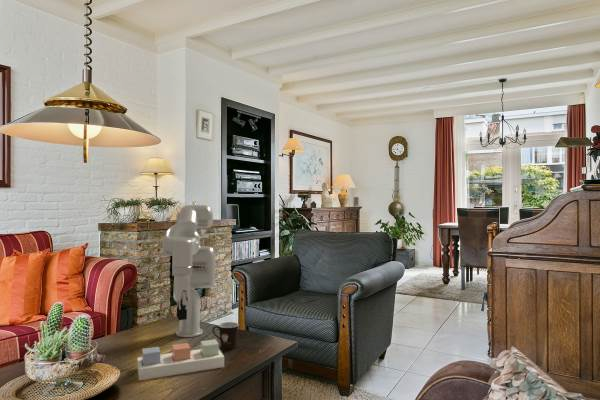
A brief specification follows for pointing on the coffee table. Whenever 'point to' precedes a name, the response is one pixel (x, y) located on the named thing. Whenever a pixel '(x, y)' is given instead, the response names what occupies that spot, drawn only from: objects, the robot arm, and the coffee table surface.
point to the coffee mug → (227, 335)
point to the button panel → (179, 365)
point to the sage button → (209, 348)
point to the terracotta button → (181, 352)
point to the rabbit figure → (100, 357)
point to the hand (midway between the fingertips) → (181, 317)
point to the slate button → (150, 356)
